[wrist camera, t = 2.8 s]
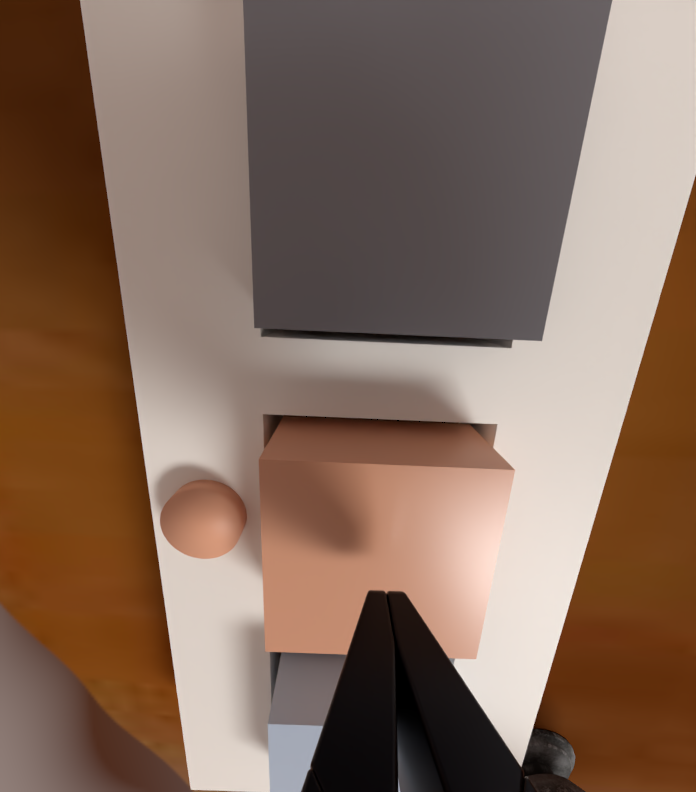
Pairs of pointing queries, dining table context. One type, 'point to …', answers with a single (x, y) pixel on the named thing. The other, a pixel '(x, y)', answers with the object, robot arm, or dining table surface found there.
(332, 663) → the blue key
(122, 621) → the dining table surface
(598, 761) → the dining table surface
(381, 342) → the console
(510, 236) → the charcoal key
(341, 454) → the terracotta key
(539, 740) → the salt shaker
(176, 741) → the dining table surface
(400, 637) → the robot arm
